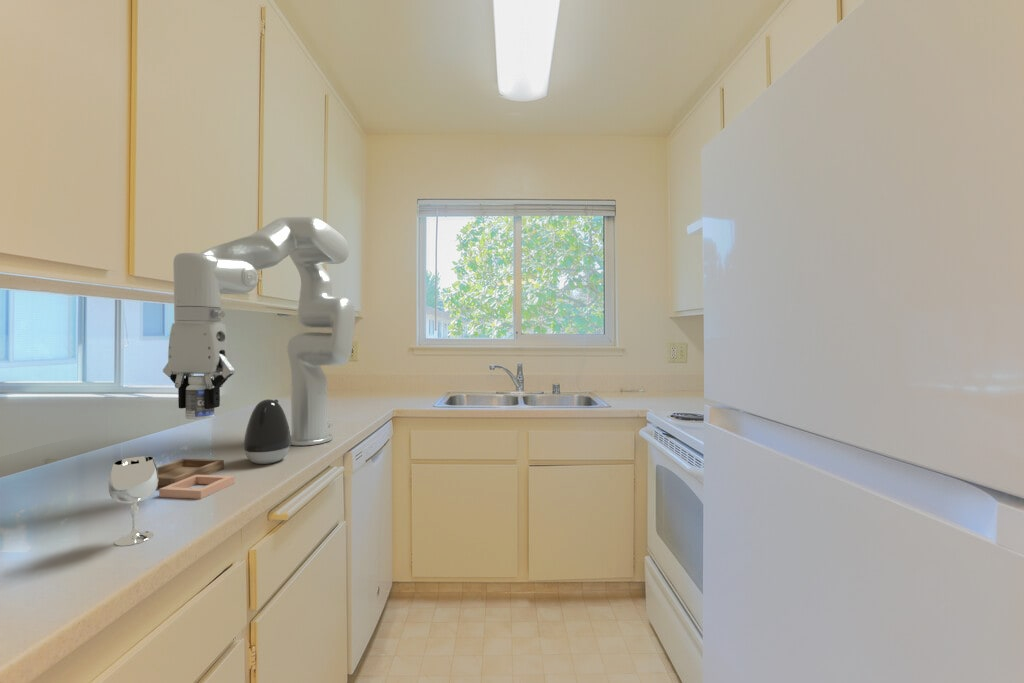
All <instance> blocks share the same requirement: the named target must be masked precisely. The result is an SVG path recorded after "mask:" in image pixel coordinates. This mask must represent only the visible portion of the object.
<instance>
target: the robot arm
mask: <svg viewBox="0 0 1024 683" xmlns="http://www.w3.org/2000/svg"><path fill="white" fill-rule="evenodd" d="M349 255H350V248H349V244H348V242H347V240H346V238H345V236H343V235H342V234H341V233H340V232H338V231H337V230H336V229H335V228H333V227H332V226H331V225H330V224H328V223H327V222H325V221H323V220H322V219H321V218H318V217H315V216H283V217H279V218H276V219H275V220H273V221H271V222H270V223H268V224H266V225H265V226H263V227H262V228H260V229H259V230H256V232H254V233H252V234H250V235H247V236H244V237H240V238H237V239H234V240H231V241H228V242H224V243H221V244H218V245H214V246H212V247H210V248H208V249H205V250H203V251H201V252H200V253H197V252H180V253H178V254H176V255H175V256H174V257H173V313H174V314H173V318H174V319H173V320H174V321H173V322H174V323H172V324H171V328H170V333H169V339H168V340H169V341H168V350H167V351H168V352H167V353H168V354H167V356H168V357H167V358H168V362H167V363H166V365H165V366H164V368H163V369H162V372H163V373H164V374H165V375H166V376H167V377H168V378H169V379H170V380H171V381H172V383H174V387H175V389H177V390H178V391H177V392H178V394H177V396H178V409H186V387H187V386H189V385H190V384H189V382H188V377H189V376H195V375H196V374H197V375H203V376H204V377H205V381H206V385H207V388H208V389H205V390H204V408H205V409H212V408H214V409H215V408H219V407H220V406H221V404H220V403H221V398H220V397H221V389H220V388H222V387H223V386H224V384H225V383H226V381H227V380H228V379H229V378H230V377H232V376H233V375H234V374H235V372H236V370H235V368H234V367H233V366H232V364H231V363H232V362H231V348H230V339H229V335H228V330H227V327H226V324H225V323H222V318H225V315H226V312H225V311H223V310H222V309H221V307H222V306H221V305H222V304H221V302H222V301H221V298H222V297H221V295H245V294H248V293H250V292H252V291H253V290H254V289H255V288H256V287H257V285H258V283H259V274H258V272H257V271H260V270H265V269H268V268H272V267H274V266H276V265H279V263H281V262H282V261H283V260H284V259H286V258H287V257H288V256H289V257H290V259H291V260H292V263H293V264H294V266H295V267H296V270H297V272H298V274H299V277H300V292H299V299H298V305H297V306H298V308H297V320H298V323H299V324H300V326H301V327H304V328H309V329H323V330H324V329H326V330H327V329H329V330H330V329H331V330H332V331H331V332H320V331H317V332H315V331H308V332H307V331H306V332H299V333H296V334H294V335H293V336H291V337H290V338H289V340H288V342H287V346H286V348H287V350H286V351H287V356H288V360H289V365H290V366H289V367H290V368H289V369H290V379H291V380H290V381H291V382H290V383H291V384H290V385H291V386H290V388H291V389H290V392H291V393H290V394H291V395H290V398H291V399H290V401H291V402H290V403H291V404H290V405H291V407H290V408H291V412H290V414H291V415H290V420H291V422H290V425H291V428H290V435H291V445H290V446H314V445H319V444H325V443H328V442H330V441H332V440H333V438H334V437H333V436H334V435H333V433H331V432H328V429H330V428H332V427H333V422H332V421H328V377H327V375H326V373H325V372H324V370H323V368H322V367H321V366H343V365H346V364H348V362H349V361H350V359H351V356H352V352H353V344H354V343H353V342H354V336H355V334H354V333H355V323H356V322H355V321H356V312H355V311H356V310H355V308H354V307H355V306H354V303H353V302H352V300H350V299H349V298H348V297H345V296H340V295H339V296H336V295H334V296H332V290H333V280H332V278H331V276H330V275H329V273H328V272H327V270H326V269H325V268H324V267H323V265H339V264H343V263H344V262H346V261H347V259H348V258H349ZM212 376H213V377H212Z"/></svg>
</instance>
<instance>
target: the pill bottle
mask: <svg viewBox="0 0 1024 683" xmlns="http://www.w3.org/2000/svg"><path fill="white" fill-rule="evenodd" d="M212 377H213V376H212ZM213 378H214V377H213ZM188 382H189V384H190V385H189V386H187V387H186V408H185V415H184V416H185V419H186V420H204V419H210V418H213V417H215V408H212V409H205V408H204V390H205V389H208V388H207V385H206V381H205V377H204V375H194V376H189V377H188Z"/></svg>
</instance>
